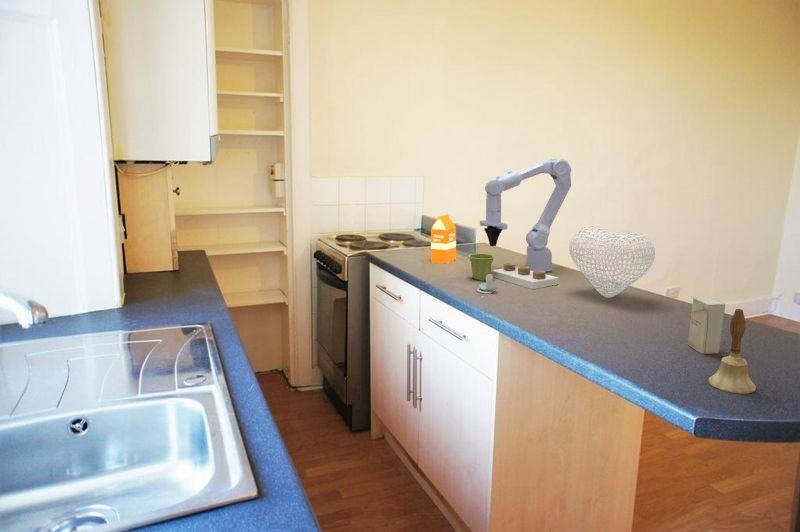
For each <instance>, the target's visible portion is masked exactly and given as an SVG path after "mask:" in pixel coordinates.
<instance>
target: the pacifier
mask: <svg viewBox="0 0 800 532" xmlns="http://www.w3.org/2000/svg"><path fill="white" fill-rule="evenodd" d="M493 280H494V277H493V276H492V275H491V273H490V274H488V275H487V276H486V280H485V282H482V283H479V286H478V288H477V289H476V291H477V292H478V293H480V294H486V295H490V294H492V293H493V292H494V291H495V290H497V289H499V287H498V286H496V287H492V282H493ZM484 291H485V292H484Z"/></svg>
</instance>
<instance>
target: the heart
mask: <svg viewBox="0 0 800 532" xmlns="http://www.w3.org/2000/svg"><path fill="white" fill-rule="evenodd" d="M598 242H599V243H598ZM592 245H593V247H592ZM637 245H638V247H637ZM641 245H642V246H641ZM645 245H646V246H645ZM632 246H634V248H633V247H632ZM568 249H569V255H570V258H571V260H572V261H573V263H574V264H575V266H576V267H577V268H578V269H579V271H580V272H581V273H582V275H584V277H585V278H586V279H587V280H588V281H589V282H590V284H591V285H592V286H593V288H594V289H595V290H596V291H597V292H598V293H599V294H600V295H601V296H603V298H606V299H607V298H608V299H609V298H610V299H611V298H613V297H615V296H617V295H619V294H621V292H624V290H626V289H627V288H628V287H630V286H631V285H632V284H634V283H635V282H637V281H638V280H639V279H641V278H642V277H643V276H644V275H645V274H646V273H647V272H648V271H649V270H650V268H651V267H652V265H653V263H654V261H655V258H656V257H655V255H656V250H655V245H654V244H653V242H652V240H651V239H650V238H649V237H648V236H647V235H645V234H643V233H641V232H638V231H637V232H636V231H621V232H617V233H613V232H611V231H610V230H608V229H606V228H603V227H600V226H593V225H591V226H587V227H581V229H578V231H576V232H575V233H574V234H573V235H572V237H571V239H570V241H569V246H568ZM581 253H582V254H581ZM589 256H590V257H589ZM593 256H594V257H593ZM606 256H607V257H606ZM610 256H611V257H610ZM625 256H626V258H625ZM629 256H631V257H629ZM600 257H601V258H600ZM593 261H594V262H593ZM624 261H626V262H625V263H624ZM629 261H630V263H629ZM610 262H611V263H610ZM634 262H635V263H634ZM614 263H615V264H614ZM623 266H625V267H623ZM628 266H630V267H628ZM637 267H638V268H637ZM626 271H627V272H626Z"/></svg>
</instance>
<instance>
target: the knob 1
mask: <svg viewBox="0 0 800 532" xmlns="http://www.w3.org/2000/svg"><path fill="white" fill-rule="evenodd" d="M516 267H517V266H516V263H513V262H505V263H503V268H504V270H506V271H513V270H515V268H516Z"/></svg>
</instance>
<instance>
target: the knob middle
mask: <svg viewBox="0 0 800 532" xmlns="http://www.w3.org/2000/svg"><path fill="white" fill-rule="evenodd" d="M518 267H519V268H518V274H521V275H527V274H530V268H529V267H526V266H525V265H524V266H518Z"/></svg>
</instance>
